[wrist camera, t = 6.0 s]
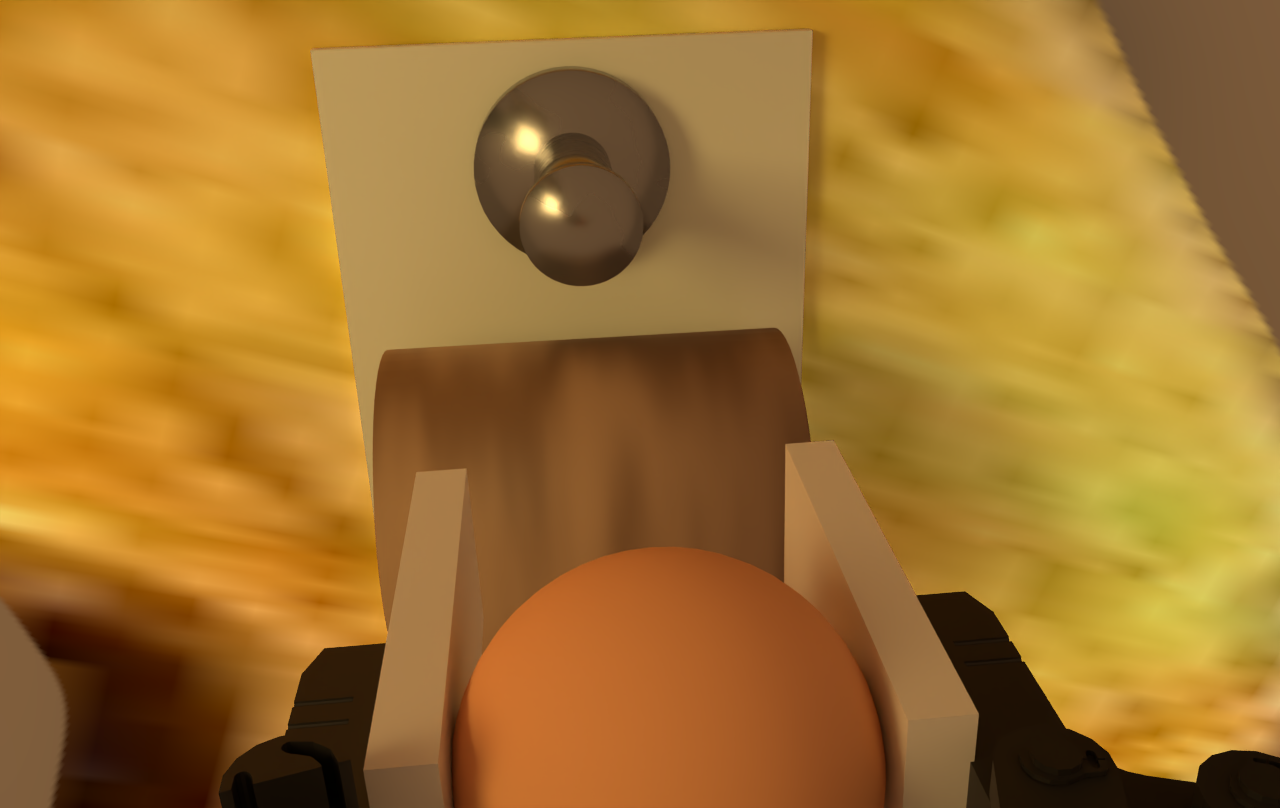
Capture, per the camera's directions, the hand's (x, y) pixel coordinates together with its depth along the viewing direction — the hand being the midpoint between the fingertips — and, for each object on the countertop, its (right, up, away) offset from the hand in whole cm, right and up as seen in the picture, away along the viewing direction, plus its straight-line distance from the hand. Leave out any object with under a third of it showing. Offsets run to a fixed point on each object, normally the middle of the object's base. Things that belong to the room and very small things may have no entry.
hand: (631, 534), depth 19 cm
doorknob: (-2, +9, +16) cm, 19 cm away
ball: (0, -1, -2) cm, 3 cm away
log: (-2, +1, +20) cm, 20 cm away
